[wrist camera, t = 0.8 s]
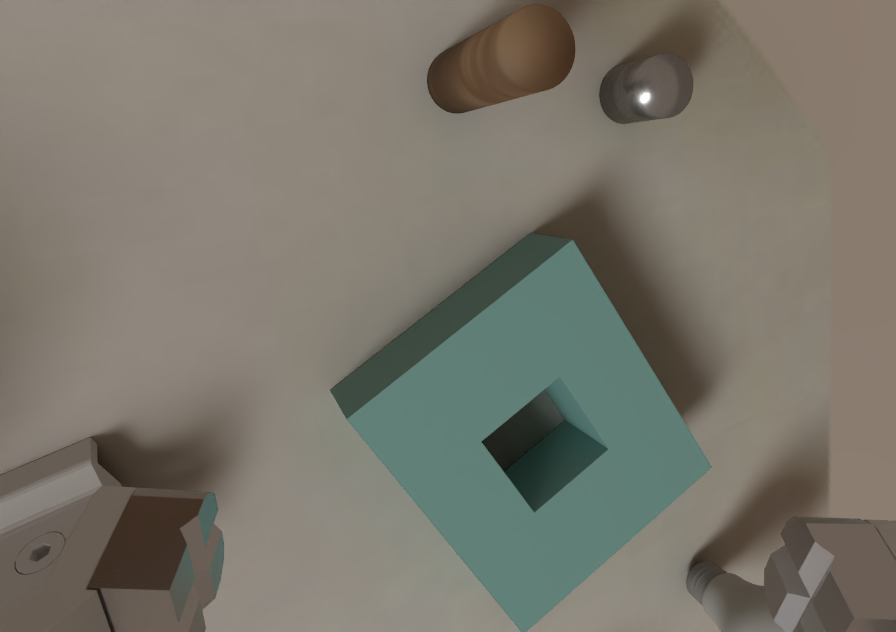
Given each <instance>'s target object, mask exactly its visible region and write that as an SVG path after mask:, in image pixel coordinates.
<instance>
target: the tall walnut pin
mask: <svg viewBox="0 0 896 632" xmlns="http://www.w3.org/2000/svg"><path fill="white" fill-rule="evenodd" d="M574 58H575V40H574V36H573V33H572V30H571V28H570V26H569V24H568V23H567V21H566V20H565V19H564V17H563V16H562V15H561V14H560V13H558V12H557V11H556V10H554V9H552V8H550V7H547V6H544V5H530V6H526V7H524V8H521V9H520V10H518V11H516V12H514V13H513V14H511V15H509V16H507V17H505V18H504V19H502V20H500V21H498V22H496V23H495V24H493V25H491V26H489V27H487V28H486V29H484V30H482V31H480V32H478V33H477V34H475V35H473V36H471V37H469V38H468V39H466V40H464V41H462V42H460V43H459V44H457V45H455V46H453V47H452V48H450V49H448V50H446V51H444V52H443V53H441V54H439V55H438V56H437V57H436V58H435V59H434V60H433V62H432V64H431V65H430V68H429V71H428V75H427V85H428V90H429V93H430V95H431V97H432V99H433V100H434V102H435V103H436V104H437V105H438V106H439V107H440V108H442V109H443V110H445V111H447V112H451V113H464V112H468V111H472V110H475V109H479V108H483V107H486V106H490V105H494V104H497V103H501V102H505V101H508V100H512V99H516V98H519V97H523V96H527V95H530V94H534V93H538V92H541V91H545V90H548V89H551V88H553V87H555V86H557V85H558V84H560V83H561V82H562V81H563V80H564V79H565V78H566V76H567V75H568V74H569V72H570V70H571V68H572V65H573V62H574Z"/></svg>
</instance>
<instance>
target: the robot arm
mask: <svg viewBox="0 0 896 632" xmlns="http://www.w3.org/2000/svg"><path fill="white" fill-rule="evenodd" d="M217 511H218V507H217V503H216V499H215V494H214V493H210V492H198V491H183V490H169V489H154V488H140V487H139V488H135V487H118V486H101V487H100V488H99V489H98V490H97V491H96V492H95V493H94V494H93V495H92V496H91V498H90V500H89V502H88V504H87V505H86V507H85V509H84V511H83V513H82V514H81V516H80V518H79V520H78V522H77V524H76V525H75V527H74V529H73V531H72V533H71V535H70V536H69V538H68V540H67V542H66V544H65V546H64V547H63V549H62V551H61V553H60V555H59V557H58V558H57V560H56V562H55V564H54V566H53V567H52V569H51V571H50V573H49V575H48V577H47V578H46V580H45V582H44V584H43V586H42V588H37V587H30V588H29V589H27V590H26V591H24V592H23V593H22V594H20V595H19V596H18V597H16V598H15V599H13V600H12V601H11V602H9V603H8V604H6V605H5V606H4V607H2V608H1V609H0V632H205V629H206V626H205V621H204V616H203V612H202V610H203V609H204V608H205V607H206V606H207V605H208V604H209V603H210V602H212V601H213V600H214V599H215V597H216V594H217V590H218V587H219V583H220V580H221V574H222V567H223V561H224V541H223V535H222V531H221V530H220V529H219V528H218V527H217V526H215V525H214V524H213V523H214V520H215V517H216V514H217ZM781 536H782V538H783V540H784V542H785V546H783V547H781V548H780V549H778V550H777V551H775V552H774V553H772V554H771V555H770V558H769V560H768V562H767V565H766V567H765V570H764V592H765V597H766V602H767V605H768V608H769V610H770V613H771V616H772V618H773V621H774V622H776V623H777V624H778V625H779V626H780V627H781V628H782V629H783V630H784V631H785V632H896V521H887V520H861V519H848V518H817V517H793V518H792V519H790V520H789V521H787V522H786V524H785V526H784V528H783V530H782V532H781Z"/></svg>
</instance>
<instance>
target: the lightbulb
mask: <svg viewBox="0 0 896 632" xmlns="http://www.w3.org/2000/svg"><path fill="white" fill-rule="evenodd" d="M686 584H687V589H688V591H689V593H690V594H691V595H692V596H693V597H694V598H695V599H696V600H697V601H698V602H699V603H700V604H701V605H702V606H703V608H704V610H705V612H706V614H707V615H708V616H709V617H710V618H711V619H712V620H713V621H714V622H715V623H716V625H717V626H718V628H719V629H720V631H721V632H785V631H784V630H783V629H782V628H781V627H780V626H779V625H778V624H777V623H776V622H774V621H773V618H772V616H771V613H770V610H769V608H768V605H767V602H766V597H765V592H764V586H759V585H755V584H752V583H749V582H747V581H745V580H743V579H742V578H740V577H739V576H737V575H735V574H732V573H727V572H726V571H724V570H722V569H721V568H720V567H718V566H716V565H715V564H713V563H711V562H701V563H698V564H696V565H695V566H694V567H693V568H692V569H691V570H690V572H689V573H688V576H687V581H686Z"/></svg>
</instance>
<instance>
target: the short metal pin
mask: <svg viewBox="0 0 896 632" xmlns="http://www.w3.org/2000/svg"><path fill="white" fill-rule="evenodd" d="M692 92H693V77H692V73H691V71H690V68H689V66H688V65H687V63H686V62H685V61H684V60H683V59H682V58H681V57H679V56H678V55H676V54H673V53H661V54H658V55H654V56H651V57H647V58H644V59H640V60H637V61H633V62H630V63H626V64H623V65H619V66H616V67H614V68H613V69H611V70H610V71H609V72H608V73H607V74H606V75H605V77H604V78H603V80H602V83H601V86H600V92H599V97H600V103H601V106H602V109H603V111H604V112H605V114H606V115H607V116H608V117H609V118H610V119H611V120H613V121H614V122H617V123H621V124H627V123H634V122H641V121H649V120H656V119H663V118H670V117H673V116H676V115H678V114H679V113H681V112H682V111H683V110H684V109H685V107H686V106H687V105H688V103H689V101H690V99H691V96H692Z"/></svg>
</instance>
